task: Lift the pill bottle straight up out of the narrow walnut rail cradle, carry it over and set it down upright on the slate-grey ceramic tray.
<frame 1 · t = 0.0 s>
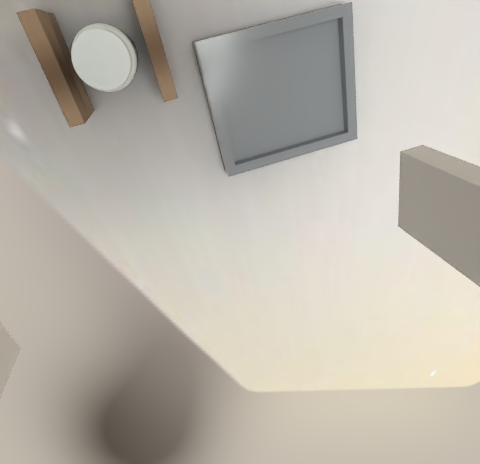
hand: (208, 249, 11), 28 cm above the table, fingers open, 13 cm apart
walnut rail cradle: (111, 56, 32), on the table
slate tray: (279, 93, 37), on the table
pill bottle: (111, 56, 32), on the table
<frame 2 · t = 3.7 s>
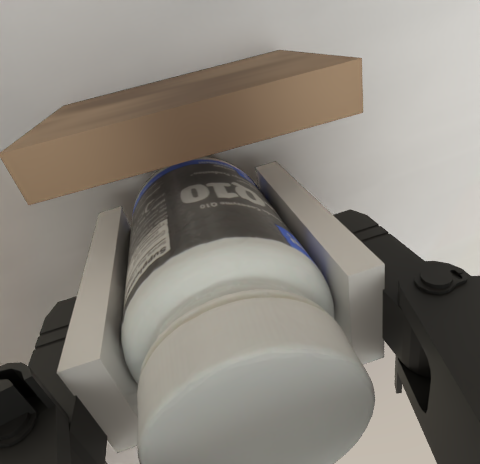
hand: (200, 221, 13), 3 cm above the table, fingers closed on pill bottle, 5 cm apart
walnut rail cradle: (206, 189, 15), on the table
pill bottle: (198, 214, 13), point 2 cm above the table, touching gripper
when the fingers open (2 cm above the table, at t = 8.2 s): pill bottle stays where it is, resting on slate tray.
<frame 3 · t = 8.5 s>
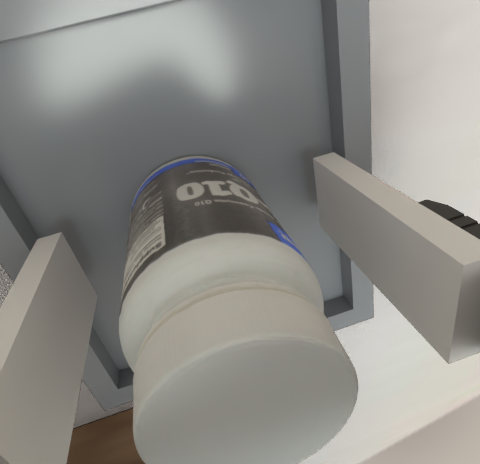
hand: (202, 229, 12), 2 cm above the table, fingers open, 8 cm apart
walnut rail cradle: (150, 454, 21), on the table
slate tray: (194, 201, 14), on the table
pill bottle: (195, 212, 13), point 1 cm above the table, touching slate tray
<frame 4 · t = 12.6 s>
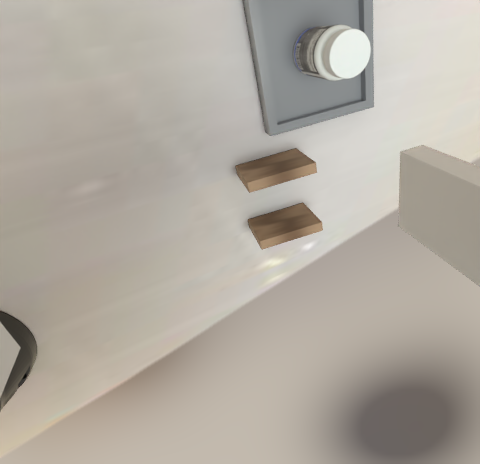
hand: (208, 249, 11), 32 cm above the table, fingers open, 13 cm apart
walnut rail cradle: (271, 189, 46), on the table
slate tray: (309, 50, 39), on the table
pill bottle: (311, 51, 38), point 1 cm above the table, touching slate tray
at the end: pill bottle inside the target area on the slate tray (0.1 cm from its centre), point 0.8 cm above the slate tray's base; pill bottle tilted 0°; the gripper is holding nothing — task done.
